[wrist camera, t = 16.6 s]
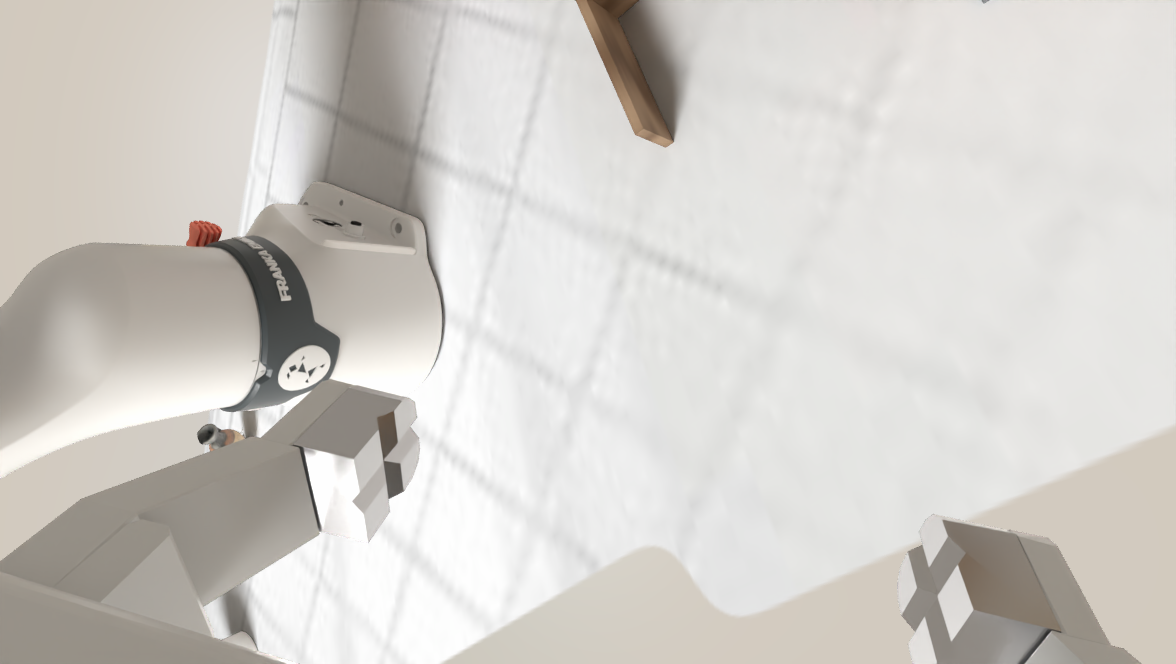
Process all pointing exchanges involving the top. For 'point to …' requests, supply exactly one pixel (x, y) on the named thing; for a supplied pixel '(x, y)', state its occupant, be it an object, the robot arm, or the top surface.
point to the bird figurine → (218, 436)
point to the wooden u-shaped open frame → (624, 68)
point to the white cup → (241, 640)
